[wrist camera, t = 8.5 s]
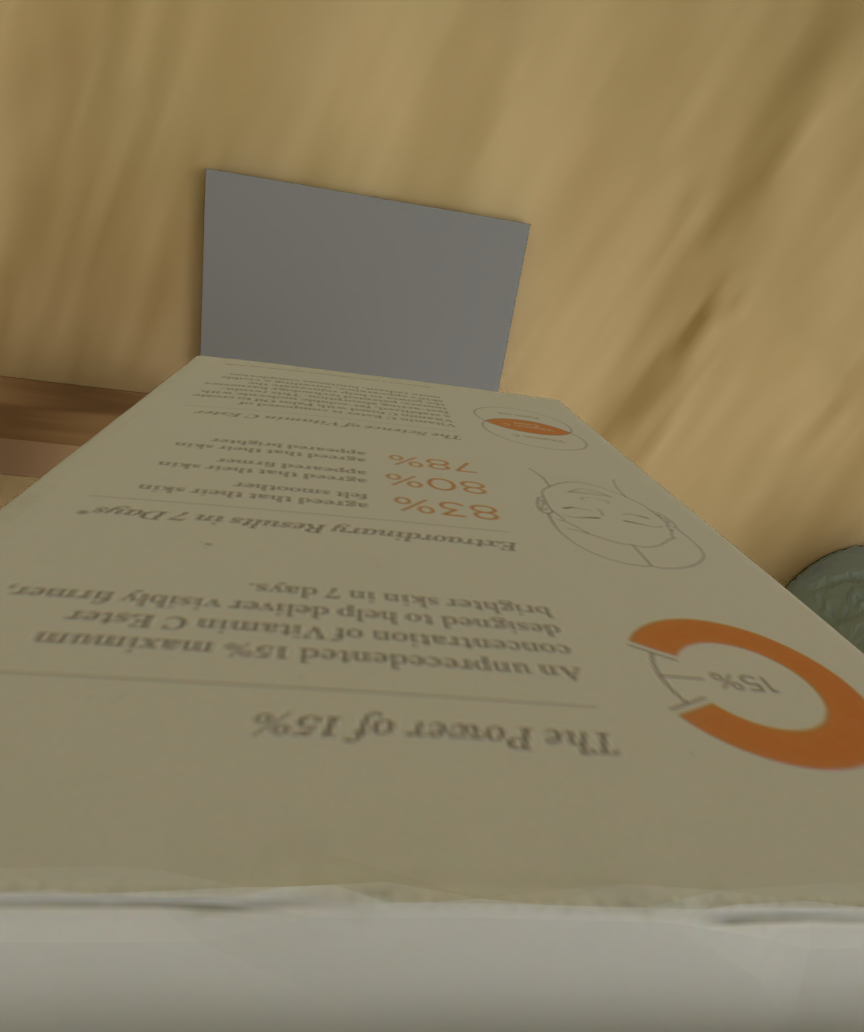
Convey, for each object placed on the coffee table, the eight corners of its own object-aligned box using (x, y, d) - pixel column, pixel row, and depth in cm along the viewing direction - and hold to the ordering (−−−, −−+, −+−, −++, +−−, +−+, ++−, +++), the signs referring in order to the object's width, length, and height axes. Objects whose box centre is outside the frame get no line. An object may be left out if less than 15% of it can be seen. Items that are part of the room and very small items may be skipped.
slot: (201, 400, 29) (160, 455, 22) (194, 661, 34) (158, 766, 27) (-78, 366, 27) (-208, 415, 21) (-44, 646, 32) (-140, 755, 26)
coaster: (526, 223, 28) (530, 224, 27) (472, 506, 32) (474, 511, 32) (208, 169, 26) (205, 168, 25) (199, 477, 30) (196, 482, 30)
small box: (185, 617, 17) (-253, 1593, 5) (191, 348, 15) (-613, 891, 2) (515, 642, 18) (840, 1476, 6) (568, 396, 16) (1265, 925, 4)
